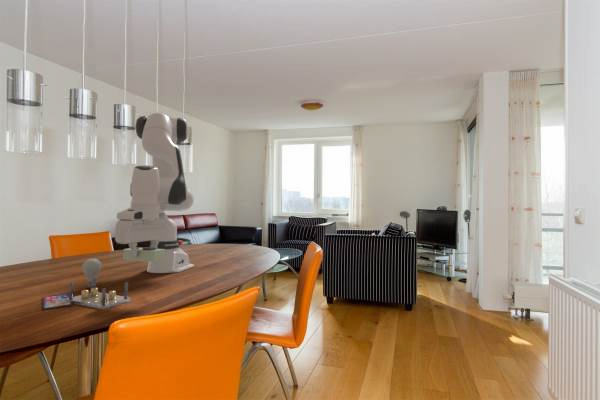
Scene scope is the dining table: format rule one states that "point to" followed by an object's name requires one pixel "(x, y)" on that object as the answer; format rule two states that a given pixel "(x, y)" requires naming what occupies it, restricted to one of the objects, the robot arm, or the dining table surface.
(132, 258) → the green block with holes
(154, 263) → the robot arm
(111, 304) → the chassis
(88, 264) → the lightbulb
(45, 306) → the smartphone
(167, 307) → the dining table surface
